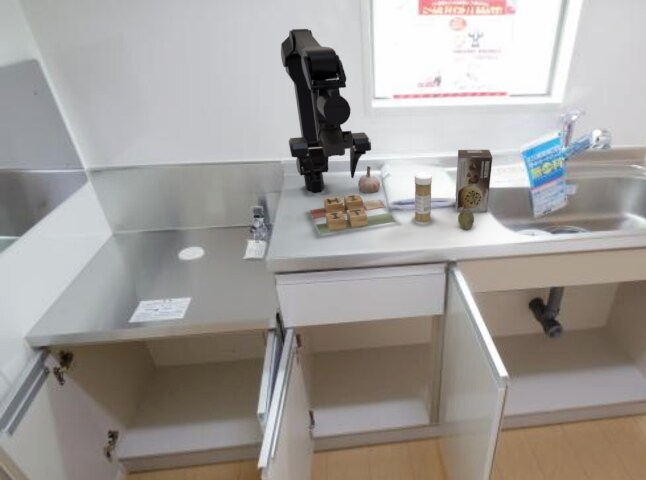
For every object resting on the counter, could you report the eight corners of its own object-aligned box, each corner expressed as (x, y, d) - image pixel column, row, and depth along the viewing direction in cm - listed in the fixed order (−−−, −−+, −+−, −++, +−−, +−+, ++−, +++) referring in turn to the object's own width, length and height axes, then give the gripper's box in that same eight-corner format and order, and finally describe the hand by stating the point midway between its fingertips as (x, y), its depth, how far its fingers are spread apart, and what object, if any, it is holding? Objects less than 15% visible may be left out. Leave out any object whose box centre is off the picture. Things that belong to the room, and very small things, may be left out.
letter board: (308, 213, 127) (307, 209, 127) (381, 202, 134) (381, 199, 133) (318, 237, 117) (318, 234, 116) (397, 224, 123) (397, 220, 122)
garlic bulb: (371, 184, 144) (369, 160, 139) (386, 191, 140) (385, 166, 135) (353, 191, 140) (351, 166, 135) (368, 198, 136) (366, 172, 131)
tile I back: (344, 205, 130) (343, 195, 128) (359, 203, 131) (358, 193, 129) (348, 212, 126) (347, 202, 124) (363, 209, 128) (362, 199, 126)
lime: (473, 223, 124) (474, 206, 121) (473, 231, 121) (475, 214, 117) (457, 222, 124) (458, 206, 121) (457, 230, 121) (458, 213, 118)
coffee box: (484, 202, 135) (490, 149, 125) (487, 212, 130) (493, 157, 120) (454, 202, 135) (457, 148, 124) (456, 212, 130) (460, 156, 119)
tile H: (324, 208, 128) (323, 198, 126) (340, 206, 129) (339, 196, 127) (328, 215, 125) (326, 205, 123) (343, 212, 126) (342, 202, 124)
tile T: (347, 220, 122) (346, 210, 120) (363, 218, 124) (362, 207, 122) (351, 227, 119) (350, 217, 117) (367, 225, 120) (366, 214, 119)
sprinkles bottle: (427, 217, 127) (428, 170, 118) (433, 224, 124) (434, 177, 115) (412, 219, 126) (412, 172, 117) (417, 226, 122) (418, 179, 114)
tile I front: (326, 223, 121) (325, 213, 119) (342, 221, 122) (341, 210, 120) (330, 231, 117) (328, 220, 115) (346, 228, 119) (345, 217, 117)
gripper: (287, 126, 93) (299, 196, 103) (374, 119, 97) (377, 188, 107) (283, 112, 101) (294, 178, 111) (364, 106, 106) (368, 171, 115)
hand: (334, 179), depth 111 cm, fingers open, 9 cm apart
